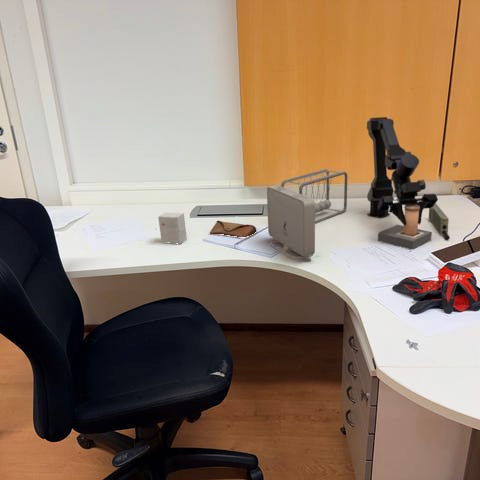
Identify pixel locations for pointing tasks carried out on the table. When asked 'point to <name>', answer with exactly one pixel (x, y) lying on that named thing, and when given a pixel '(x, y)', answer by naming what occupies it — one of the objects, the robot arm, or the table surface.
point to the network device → (291, 221)
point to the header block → (404, 237)
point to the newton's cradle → (325, 203)
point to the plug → (411, 219)
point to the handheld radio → (439, 220)
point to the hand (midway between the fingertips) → (412, 224)
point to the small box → (172, 227)
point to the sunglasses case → (233, 229)
